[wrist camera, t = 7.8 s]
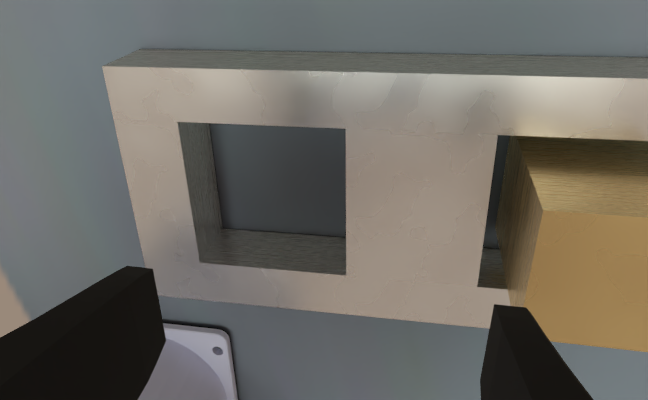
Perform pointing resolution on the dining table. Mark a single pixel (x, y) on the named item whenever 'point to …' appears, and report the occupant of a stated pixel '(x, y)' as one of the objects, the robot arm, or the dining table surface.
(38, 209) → the dining table surface
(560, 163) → the brass block
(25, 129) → the dining table surface
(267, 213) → the dining table surface
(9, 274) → the dining table surface
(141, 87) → the rail
